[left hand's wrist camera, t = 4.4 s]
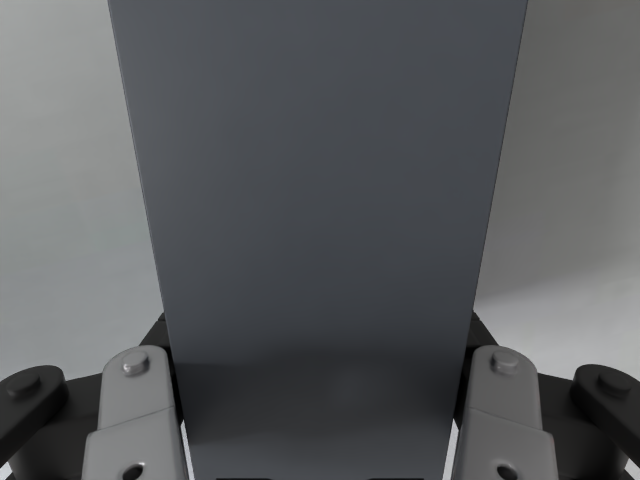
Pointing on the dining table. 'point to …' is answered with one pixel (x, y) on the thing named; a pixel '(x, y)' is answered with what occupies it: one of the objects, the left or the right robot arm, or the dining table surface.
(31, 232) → the dining table surface
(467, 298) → the box
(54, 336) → the dining table surface
